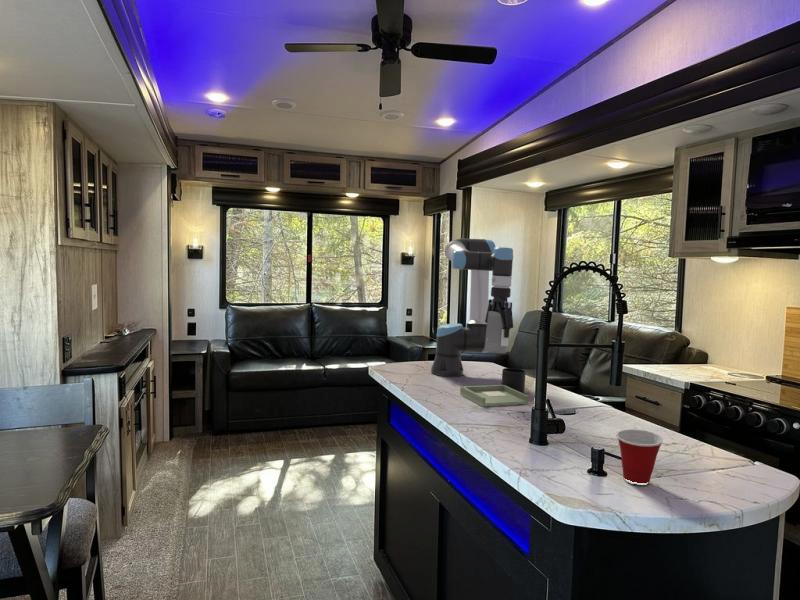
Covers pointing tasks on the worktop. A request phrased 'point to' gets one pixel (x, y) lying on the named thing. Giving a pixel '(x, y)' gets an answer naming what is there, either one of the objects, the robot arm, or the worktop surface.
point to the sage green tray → (493, 395)
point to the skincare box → (494, 333)
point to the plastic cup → (638, 453)
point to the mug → (514, 378)
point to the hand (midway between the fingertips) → (497, 343)
